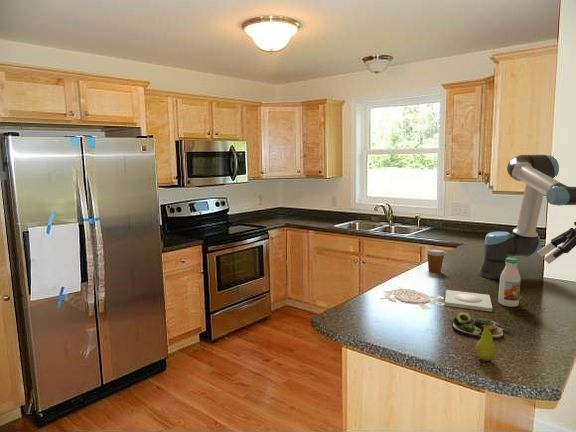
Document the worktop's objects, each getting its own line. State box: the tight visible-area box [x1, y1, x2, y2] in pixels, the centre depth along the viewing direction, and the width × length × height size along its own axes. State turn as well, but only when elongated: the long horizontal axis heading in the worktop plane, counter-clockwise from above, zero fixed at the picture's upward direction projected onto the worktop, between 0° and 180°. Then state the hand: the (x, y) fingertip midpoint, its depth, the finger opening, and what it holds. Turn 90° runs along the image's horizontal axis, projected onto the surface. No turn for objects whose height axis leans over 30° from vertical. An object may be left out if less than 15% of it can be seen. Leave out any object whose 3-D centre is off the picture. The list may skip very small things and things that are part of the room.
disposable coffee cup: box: [426, 248, 446, 274], centre depth 225 cm, size 10×10×12 cm
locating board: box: [444, 289, 493, 313], centre depth 177 cm, size 18×18×2 cm
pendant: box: [379, 286, 445, 310], centre depth 182 cm, size 21×28×1 cm
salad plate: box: [451, 310, 512, 339], centre depth 148 cm, size 19×18×5 cm
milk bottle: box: [498, 257, 521, 308], centre depth 174 cm, size 8×8×20 cm
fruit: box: [475, 320, 497, 362], centre depth 125 cm, size 6×6×12 cm
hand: (542, 257), depth 168 cm, fingers open, 13 cm apart
